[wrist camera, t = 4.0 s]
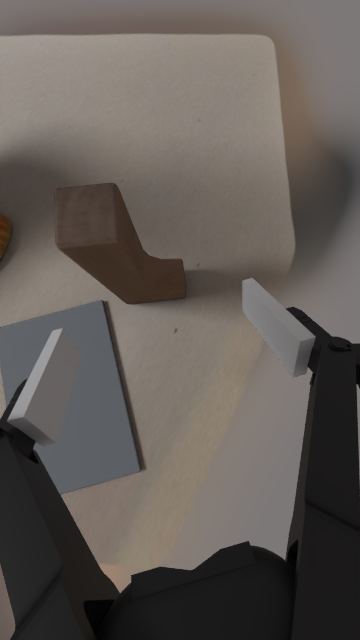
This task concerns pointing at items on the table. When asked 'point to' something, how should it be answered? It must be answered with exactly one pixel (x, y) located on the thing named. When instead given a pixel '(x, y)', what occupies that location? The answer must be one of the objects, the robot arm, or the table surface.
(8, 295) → the table surface
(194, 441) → the table surface
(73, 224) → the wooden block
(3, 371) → the mat
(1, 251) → the pastry
